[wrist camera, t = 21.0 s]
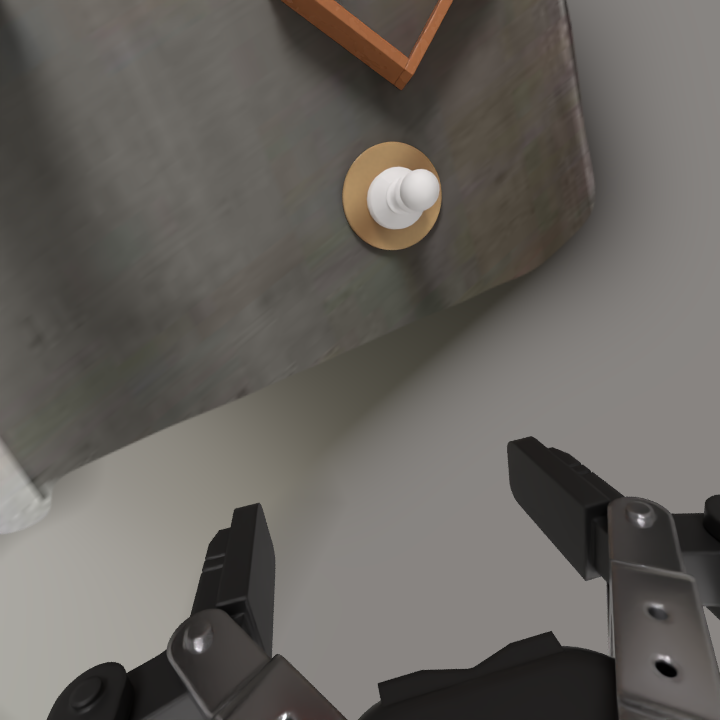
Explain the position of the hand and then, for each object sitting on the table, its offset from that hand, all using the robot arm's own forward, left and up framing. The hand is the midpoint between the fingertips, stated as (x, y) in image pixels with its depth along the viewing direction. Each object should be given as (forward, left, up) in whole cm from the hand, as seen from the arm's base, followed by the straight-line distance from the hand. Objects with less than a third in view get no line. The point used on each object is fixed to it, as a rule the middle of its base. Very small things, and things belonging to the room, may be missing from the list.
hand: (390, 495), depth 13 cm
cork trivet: (0, +13, -28) cm, 31 cm away
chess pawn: (0, +13, -28) cm, 31 cm away
